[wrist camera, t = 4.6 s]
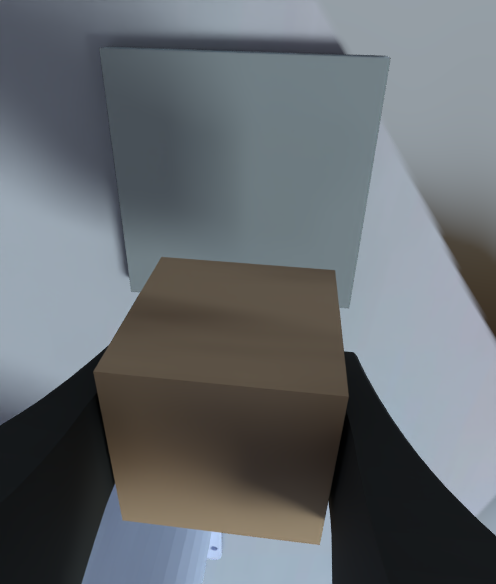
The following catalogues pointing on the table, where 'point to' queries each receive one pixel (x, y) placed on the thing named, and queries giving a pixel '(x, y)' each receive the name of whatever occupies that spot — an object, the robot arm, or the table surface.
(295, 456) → the walnut cube
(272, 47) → the table surface
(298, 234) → the slate coaster
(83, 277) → the table surface
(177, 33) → the table surface
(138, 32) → the table surface
